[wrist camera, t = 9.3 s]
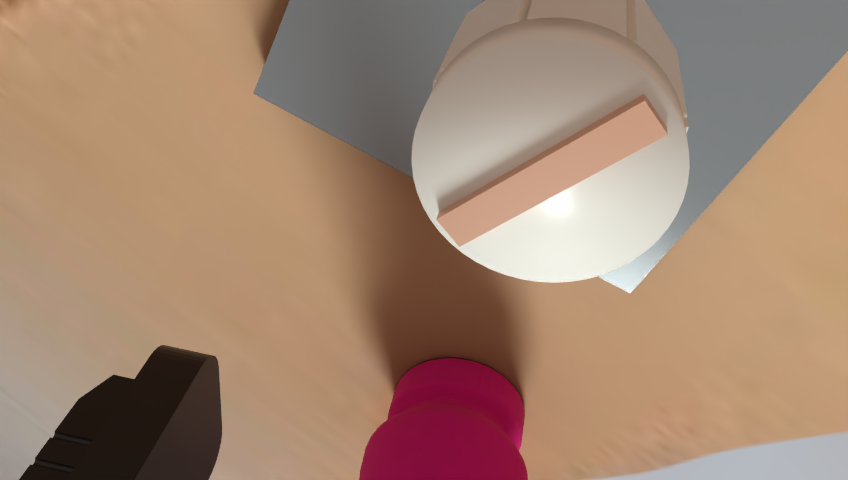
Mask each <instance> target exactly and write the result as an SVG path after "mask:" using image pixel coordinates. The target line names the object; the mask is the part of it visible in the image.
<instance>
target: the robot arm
mask: <svg viewBox="0 0 848 480" xmlns="http://www.w3.org/2000/svg"><path fill="white" fill-rule="evenodd" d="M221 437H222V419H221V400H220V382H219V366H218V361H217V358H216V357H215V356H212V355H207V354H202V353H198V352H193V351H189V350H184V349H179V348H175V347H170V346H165V345H162V346H159V347H158V348H157V349H156V350H155V351H154V352H153V353H152V354H151V356H150V357H149V359H148V360H147V362H146V363H145V365H144V366H143V367H142V369H141V370H140V372H139V373H138V375H137V376H136V378H135V379H130V378H126V377H121V376H117V375H113V376H111V377H110V378H108V379H107V380H105V381H104V382H103V383H101V384H100V385H98V386H97V387H95V388H94V389H93V390H91V391H90V392H88V393H87V394H85V395H84V396H83V397H81V398H80V399H78V401H77V402H76V403H75V405H74V406H73V407H72V409H71V410H70V411H69V413H68V414H67V416H66V417H65V418H64V420H63V421H62V422H61V424H60V425H59V426H58V428H57V429H56V430H55V435H54V437H53V438H50V439H49V440H48V441H47V443H46V444H45V445H44V447H43V448H42V449H41V451H40V452H39V453H38V455H37V456H36V458H35V462H34V464H33V465H30V466H29V467H28V468H27V470H26V471H25V472H24V474H23V475H22V476H21V478H20V479H19V480H208V479H209V477H210V475H211V473H212V471H213V468H214V466H215V463H216V460H217V456H218V453H219V449H220V444H221Z"/></svg>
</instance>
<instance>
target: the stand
mask: <svg viewBox="0 0 848 480" xmlns="http://www.w3.org/2000/svg"><path fill="white" fill-rule="evenodd" d="M483 1H485V0H289V3H288V6H287V8H286V11H285V13H284V16H283V19H282V21H281V24H280V26H279V29H278V31H277V34H276V37H275V39H274V42H273V44H272V47H271V49H270V52H269V55H268V57H267V60H266V62H265V65H264V67H263V70H262V73H261V75H260V78H259V80H258V83H257V86H256V88H255V91H254V93H253V94H255V95H257V96H259V97H261V98H263V99H265V100H267V101H268V102H270V103H272V104H274V105H276V106H278V107H280V108H282V109H284V110H285V111H287V112H289V113H291V114H293V115H295V116H297V117H299V118H300V119H302V120H304V121H306V122H308V123H310V124H312V125H314V126H316V127H317V128H319V129H321V130H323V131H325V132H327V133H329V134H331V135H333V136H334V137H336V138H338V139H340V140H342V141H344V142H346V143H348V144H349V145H351V146H353V147H355V148H357V149H359V150H361V151H363V152H365V153H366V154H368V155H370V156H372V157H374V158H376V159H378V160H380V161H381V162H383V163H385V164H387V165H389V166H391V167H393V168H395V169H397V170H398V171H400V172H402V173H404V174H406V175H408V176H410V177H412V178H413V172H412V162H411V161H412V144H413V139H414V133H415V129H416V126H417V124H418V121H419V118H420V115H421V113H422V111H423V109H424V107H425V105H426V102H427V100H428V98H429V96H430V94H431V92H432V89H433V81H434V78H435V76H436V74H437V72H438V70H439V68H440V66H441V64H442V62H443V59H444V57H445V55H446V53H447V51H448V49H449V47H450V45H451V43H452V41H453V39H454V37H455V35H456V32H457V30H458V28H459V26H460V24H461V22H463V20H464V18H465V16H466V14H467V13H468V12H469V11H471V10H472V9H473V8H475V7H476V6H478V5H479V4H480V3H482V2H483ZM645 1H646V3H647V4H648V6H649V7H650V9H651V11H652V12H653V14H654V15H655V17H656V18H657V20H658V22H659V23H660V25H661V26H662V28H663V29H664V31H665V33H666V34H667V36H668V37H669V39H670V40H671V42H672V44H673V45H674V47H675V48H676V50H677V54H678V60H679V67H680V73H681V79H682V85H683V92H684V98H685V104H686V111H687V119H688V126H689V128H688V131H687V134H686V135H687V141H688V148H689V164H690V169H689V177H688V185H687V188H686V192H685V196H684V199H683V202H682V204H681V206H680V209H679V211H678V213H677V215H676V217H675V218H674V220H673V221H672V223H671V225H670V226H669V228H668V229H667V230H666V231H665V233H664V234H663V235H662V236H661V237H660V239H659V240H658V241H657V242H656V243H655V244H653V245H652V246H651V247H650V248H649V249H648V250H647V251H646V252H644V253H643V254H641V255H640V256H639V257H637V258H636V259H634V260H633V261H631V262H629V263H628V264H626V265H624V266H622V267H620V268H618V269H616V270H613V271H611V272H608V273H606V274H603V275H600V276H598V277H600V278H602V279H604V280H606V281H607V282H609V283H611V284H613V285H615V286H617V287H619V288H621V289H623V290H624V291H626V292H628V293H631V292H632V291H633V290H634V289H635V287H636V286H637V285H638V284H639V283H640V282H641V281H642V280H643V279H644V277H645V276H646V275H647V274H648V273H649V272H650V271H651V270H652V269H653V267H654V266H655V265H656V264H657V263H658V262H659V261H660V260H661V258H662V257H663V256H664V255H665V254H666V253H667V252H668V251H669V250H670V248H671V247H672V246H673V245H674V244H675V243H676V242H677V241H678V240H679V238H680V237H681V236H682V235H683V234H684V233H685V232H686V231H687V229H688V228H689V227H690V226H691V225H692V224H693V223H694V222H695V221H696V219H697V218H698V217H699V216H700V215H701V214H702V213H703V212H704V210H705V209H706V208H707V207H708V206H709V205H710V204H711V203H712V202H713V200H714V199H715V198H716V197H717V196H718V195H719V194H720V193H721V192H722V190H723V189H724V188H725V187H726V186H727V185H728V184H729V183H730V181H731V180H732V179H733V178H734V177H735V176H736V175H737V174H738V173H739V171H740V170H741V169H742V168H743V167H744V166H745V165H746V164H747V163H748V161H749V160H750V159H751V158H752V157H753V156H754V155H755V154H756V152H757V151H758V150H759V149H760V148H761V147H762V146H763V145H764V144H765V142H766V141H767V140H768V139H769V138H770V137H771V136H772V135H773V134H774V132H775V131H776V130H777V129H778V128H779V127H780V126H781V125H782V123H783V122H784V121H785V120H786V119H787V118H788V117H789V116H790V115H791V113H792V112H793V111H794V110H795V109H796V108H797V107H798V106H799V104H800V103H801V102H802V101H803V100H804V99H805V98H806V97H807V96H808V94H809V93H810V92H811V91H812V90H813V89H814V88H815V87H816V86H817V84H818V83H819V82H820V81H821V80H822V79H823V78H824V77H825V75H826V74H827V73H828V72H829V71H830V70H831V69H832V68H833V67H834V65H835V64H836V63H837V62H838V61H839V60H840V59H841V58H842V57H843V55H844V54H845V53H846V52H847V51H848V0H645Z"/></svg>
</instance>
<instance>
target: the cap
mask: <svg viewBox="0 0 848 480" xmlns="http://www.w3.org/2000/svg"><path fill="white" fill-rule="evenodd" d="M688 128H689V126H688V119H687V111H686V104H685V98H684V92H683V85H682V79H681V73H680V67H679V60H678V54H677V50H676V48H675V47H674V45H673V44H672V42H671V40H670V39H669V37H668V36H667V34H666V33H665V31H664V29H663V28H662V26H661V25H660V23H659V22H658V20H657V18H656V17H655V15H654V14H653V12H652V11H651V9H650V7H649V6H648V4H647V3H646V1H645V0H485V1H483V2H482V3H480V4H479V5H478V6H476V7H475V8H473V9H472V10H471V11H469V12H468V13H467V14H466V16H465V18H464V20H463V22H461V24H460V26H459V28H458V30H457V32H456V35H455V37H454V39H453V41H452V43H451V45H450V47H449V49H448V51H447V53H446V55H445V57H444V59H443V62H442V64H441V66H440V68H439V70H438V72H437V74H436V76H435V78H434V81H433V89H432V92H431V94H430V96H429V98H428V100H427V102H426V105H425V107H424V109H423V111H422V113H421V115H420V118H419V121H418V124H417V126H416V129H415V133H414V139H413V144H412V161H411V162H412V172H413V179H414V183H415V187H416V191H417V193H418V196H419V198H420V201H421V203H422V206H423V208H424V209H425V211H426V213H427V215H428V217H429V218H430V220H431V221H432V223H433V224H434V225H435V227H436V228H437V229H438V231H439V232H440V233H441V234H442V235H443V236H444V237H445V238H446V239H447V240H448V241H449V242H450V243H451V244H452V245H453V246H454V247H456V248H457V249H458V250H459V251H460V252H462V253H463V254H464V255H466V256H467V257H469V258H471V259H472V260H474V261H475V262H477V263H479V264H481V265H483V266H485V267H487V268H489V269H491V270H494V271H496V272H499V273H501V274H504V275H507V276H511V277H515V278H519V279H523V280H530V281H536V282H571V281H578V280H584V279H589V278H592V277H596V276H600V275H603V274H606V273H608V272H611V271H613V270H616V269H618V268H620V267H622V266H624V265H626V264H628V263H629V262H631V261H633V260H634V259H636V258H637V257H639V256H640V255H641V254H643V253H644V252H646V251H647V250H648V249H649V248H650V247H651V246H652V245H653V244H655V243H656V242H657V241H658V240H659V239H660V237H661V236H662V235H663V234H664V233H665V231H666V230H667V229H668V228H669V226H670V225H671V223H672V221H673V220H674V218H675V217H676V215H677V213H678V211H679V209H680V206H681V204H682V202H683V199H684V196H685V192H686V188H687V185H688V177H689V169H690V164H689V148H688V141H687V135H686V134H687V131H688Z"/></svg>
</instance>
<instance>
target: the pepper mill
mask: <svg viewBox="0 0 848 480" xmlns="http://www.w3.org/2000/svg"><path fill="white" fill-rule="evenodd" d="M524 417H525V412H524V405H523V402H522V400H521V397H520V395H519V394H518V392H517V390H516V389H515V388H514V387H513V386H512V384H511V383H510V382H509V381H508V380H507V379H506V378H505V377H504V376H502V375H501V374H499V373H498V372H496V371H495V370H493V369H492V368H489V367H487V366H485V365H482V364H480V363H477V362H474V361H469V360H464V359H459V358H441V359H436V360H430V361H426V362H424V363H422V364H419V365H417V366H415V367H413V368H411V369H410V370H409V371H408V372H407V373H406V374H405V375H403V376H402V378H401V379H400V381H399V383H398V384H397V387H396V390H395V392H394V396H393V399H392V403H391V406H390V409H389V413H388V420H387V421H386V422H384V423H383V424H382V425H381V426H380V427H379V428H378V429H377V430H376V431H375V432H374V434H373V435H372V436H371V438H370V440H369V442H368V444H367V446H366V449H365V453H364V457H363V462H362V466H361V470H360V478H359V480H528V478H527V469H526V466H525V463H524V460H523V458H522V456H521V455H520V453H519V449H520V447H521V441H522V433H523V425H524Z"/></svg>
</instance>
